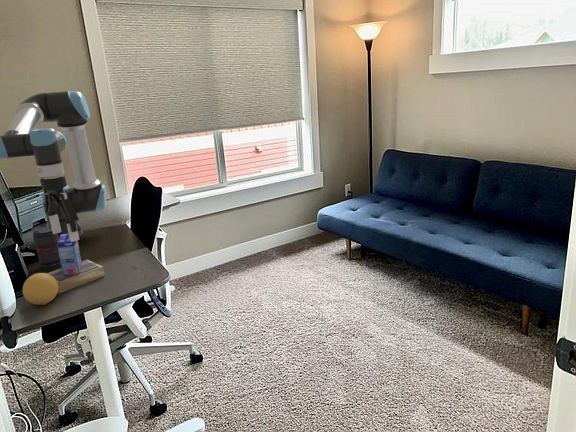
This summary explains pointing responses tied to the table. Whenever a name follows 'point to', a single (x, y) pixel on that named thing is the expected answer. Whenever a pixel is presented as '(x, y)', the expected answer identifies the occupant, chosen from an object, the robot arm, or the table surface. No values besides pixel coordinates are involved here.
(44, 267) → the dark lidded jar
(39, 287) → the stress ball
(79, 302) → the table surface
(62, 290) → the plinth
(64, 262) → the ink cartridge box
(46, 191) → the robot arm
